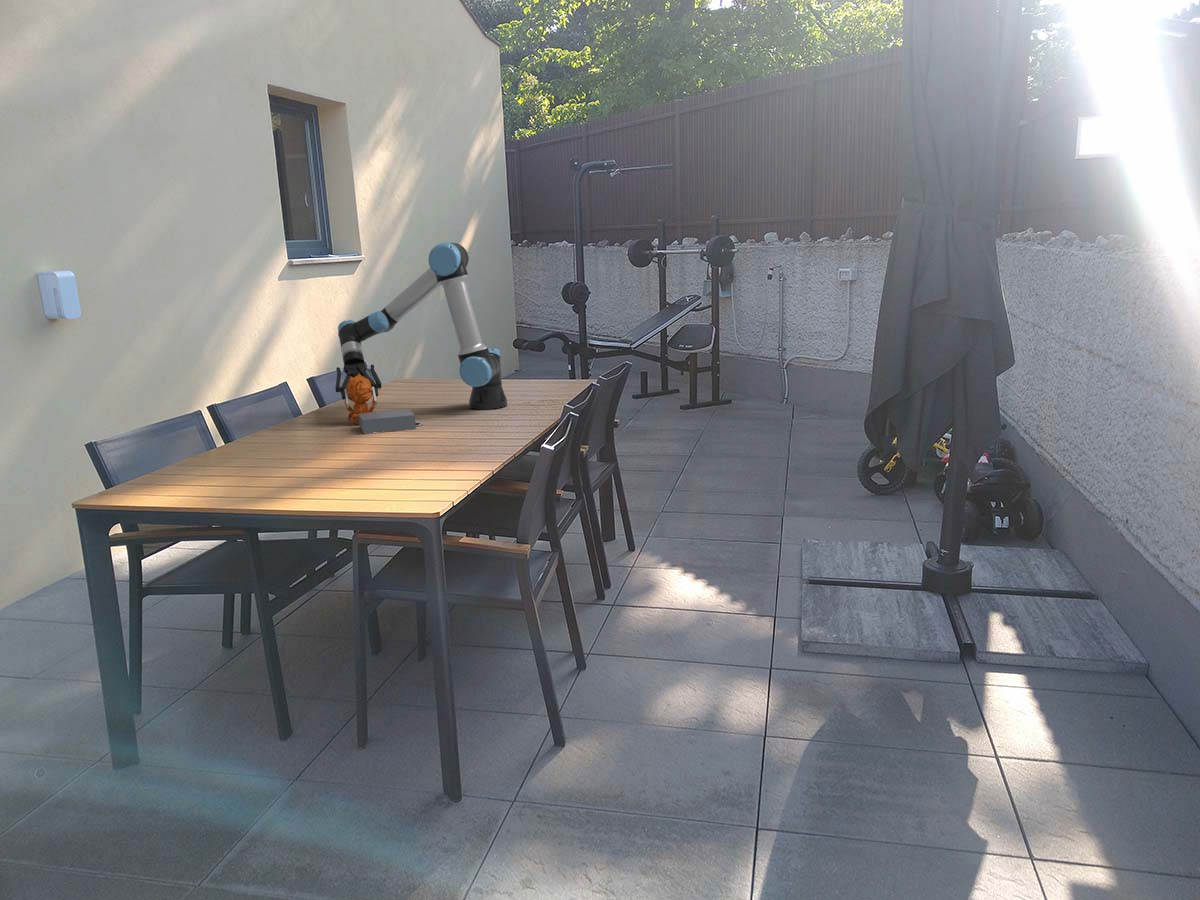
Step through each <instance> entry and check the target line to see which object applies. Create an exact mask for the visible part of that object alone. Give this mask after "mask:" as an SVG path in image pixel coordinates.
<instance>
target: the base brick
mask: <svg viewBox="0 0 1200 900" xmlns="http://www.w3.org/2000/svg"><path fill="white" fill-rule="evenodd" d="M358 418H359V424H358V427H360V428H361V429H360V428H359V429H360V431H361V430H362V431H361V432H362V433H364V434H363V435H366V434H365V433H371V434H374V433H373V432H381V433H384V432H383V431H391V432H396V431H395V430H401V431H406V430H405V429H411V430H416V429H417V427H416V426H417V424H416V415H415V413H414V412H412V410H410V409H409V408H405V409H395V410H383V411H382V410H381V411H372V412H371V413H361V414H358ZM415 428H416V429H415Z"/></svg>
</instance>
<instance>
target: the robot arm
mask: <svg viewBox="0 0 1200 900" xmlns="http://www.w3.org/2000/svg"><path fill="white" fill-rule="evenodd" d="M469 259H470V257H469V253H468V251H467V250H466V248H465V247H464V246H463V245H462V244H460V243H456V242H446V241H445V242H440V243H438V244H437V245H435V246H434V247H432V249H431V250H430V252H429V254H428V265H429V268H428V269H426V271H425V272H423V273H422V274H421V275H420V276H419V277H418V278H417V279H416V280H414V281H413V282H412V283H410V284H409V285H408V287H406V288H405V289H403V291H402V292H401V293H400V294H398V295H397V296H396V297H395V298H394V299H392V300H391V301H390V302H389V303H388V304H387V305H386V306H384V307H383V308H382V309H381V310H378V311H375V312H373V313H370V314H369V315H367V316H365V317H363V318H361V319H359V320H358V321H354V320H351V319H347V320H343V321H341V322H340V323H339V324H338V325H337V332H338V333H337V334H338V338H339V343H340V349H341V356H342V361H343V367H341V368H340V367H336V368H335V369H336V371H335V373H336V381H335V393H340V394H341V399H342V400H344V401H345V400H346V406H347V408H349V405H350V402H349V401H350V400H349V399H348V393H347V391H346V389H347V388H346V387H345V386H347V385H348V382H349V380H350V377H353V378H354V377H355V376H357V375H358V374H359V373H360V374H361V376H363V377H364V378H367V379H368V380H369V381H370V383H371V391H372V399H373V398H374V403H375V406H377V397H379V390H380V389H382V382H381V379H380V377H379V376H378V373H377V372H376V370H375V365H374V364H371V365H367V364H366V362H365V357H364V354H363V348H362V342H364V341H366V340H368V339H370V338H373V336H374V337H375V336H376V335H379V334H383V333H388V332H390V331H391V330H393V329H394V328H395V326H396V325H397V324H398V323H399V322H400V321H401V320H402V319H403V318H404V317H405V316H407V315H408V314H409V313H410V312H412V310H414V309H415V308H416V307H417V306H418V305H420V304H421V303H422V302H423V301H424V300H425V299H426V298H428V297H429V296H430V295H431V294H432V293H433V292H434V291H435V290H437V289H438V288H439V287H440V286H441V287H442V289H443V291H444V294H445V295H444V296H445V298H446V302H447V306H448V310H449V313H450V314H449V315H450V317H451V319H452V320H451V321H452V324H453V327H454V331H455V334H456V338H457V342H458V346H459V349H460V350H459V351H458V353H457V358H458V361H459V363H460V365H459V369H458V370H459V371H458V372H459V376H460V378H461V379H462V381H463V382H464V383H465V384H466V385H468V386H470V387H472V389H471V392H470V395H469V399H468V400H469V401H468V407H470V408H469V409H471V408H474V409H473V410H495V409H494V408H497V409H501V408H500V407H502V408H505V407H504V406H506V405H507V406H508V400H507V396H506V394H505V391H504V389H503V386H502V385H503V384H502V383H503V381H502V366H501V365H502V364H501V363H502V362H501V357H502V356H501V352H500V350H499V349H498V348H489V347H488V346H487V345H485V344H484V343H483V341H482V337H481V333H480V329H479V325H478V322H477V318H476V315H475V311H474V307H473V304H472V300H471V297H470V296H471V295H470V293H469V289H468V286H467V285H468V284H467V282H466V281H467V279H468V277H469V274H468V270H467V268H468V264H469ZM366 371H368V372H369V373H370V374H371V375H370V376H371V377H372V378H371V377H370V376H369V374H368V373H367V372H366ZM343 373H345V374H346V376H345V378H344V381H343V383H342V385H341V378H342V375H343ZM378 389H379V390H378ZM346 406H345V407H346ZM507 406H506V407H507Z"/></svg>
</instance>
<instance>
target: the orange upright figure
mask: <svg viewBox="0 0 1200 900" xmlns="http://www.w3.org/2000/svg"><path fill="white" fill-rule="evenodd" d="M345 387H346V391H347V395H348V401H351V402H352V403H354V405H353V407H351V406H350V404H349V408H347V406H346V400H345V399H344V404H345V405H344V406H345V408H346V410H347V411H348V412H349V413H348V416H347V417H348V421H351V422H353V424H354V423H355V424H354V425H359V418H358V414H361V413H371V412H373V411H374V409H375V408H376V405H375V403H374V398H373V395H372V388H371V383H370V381H369V380H368V379H367V378H364V377H363V376H361V374H360V373H359V374H358V375H357V376H355V377H354V378H353V377H350V380H349V382H348V385H347V386H345ZM371 398H372V399H371ZM370 399H371V400H372V401H371V406H370V407H368V404H367V402H369V401H370Z"/></svg>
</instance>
